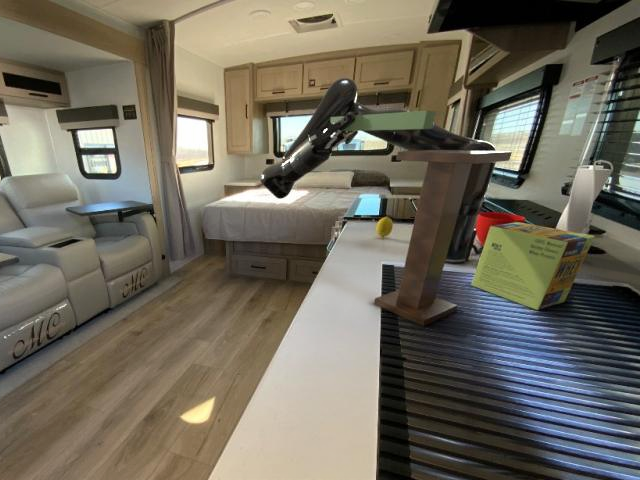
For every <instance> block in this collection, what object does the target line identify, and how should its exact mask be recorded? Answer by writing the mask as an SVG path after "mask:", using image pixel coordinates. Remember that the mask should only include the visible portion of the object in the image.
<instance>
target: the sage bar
mask: <svg viewBox="0 0 640 480" xmlns="http://www.w3.org/2000/svg"><path fill="white" fill-rule="evenodd" d="M436 113H437V111H436V110H416V111H411V112H399V113H385V114H370V115H355V116H354V117H355V121H354V122H353V123H352V124H350V125H349V126H348V127H347V128H345V129H344V130H341V131H358V132H363V131H369V130H412V129H432V128H433V123H435V119H436V115H437V114H436ZM343 117H344V116H341V117H331V123H332V124H333V123H334V122H336V121H339V120H341V119H342V118H343Z"/></svg>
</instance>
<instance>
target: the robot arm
mask: <svg viewBox="0 0 640 480" xmlns="http://www.w3.org/2000/svg"><path fill="white" fill-rule="evenodd" d="M399 112H412V111H410V110H407V109H405V108H397V107H396V108H395V107H394V108H384V109H383V108H382V109H377V108H376V109H375V108H371V107H368V106H366V105H363V104H361V103H359V102H358V86H357V84H356V81H354V80H353V79H351V78H349V77H341V78H338V79H336V80H334V82H333V83H332V84H331V85H330V86H329V87H328V88H327V90H326V92H325V94H324V95H323V98H322V100H321V101H320V103H319V104H318V106H317V108H316V109H315V111H314V113H313V114H312V115H311V117H310V119H309V121H307V123H306V125H305V127H303V129H302V130H301V132H300V133H299V135H298V136H297V137H296V139H295V140H294V141H293V142H292V144H291V145H289V148H288V149H287V150H286V151H285V153H284V154H283V156H282V157H281V161H278V162H275V163H272V164H270V165H268V166H267V167H265V168H264V169H263V171H262V172H261V174H260V177H259V180H260V183H261V185H262V186H263V187H264V188H266V189H267V190H268V191H269V192H270V193H271V194H272V195H273V196H274V197H275V198H277V199H279V200H281V199H284V198H287V196H288V195H289V194H290V193H291V191H292V190H293V188H294V185H295V182H297V181H299V180H301V179H302V178H303V177H304V176H306V175H308V174H310V173H311V172H313V171H314V170H316V169H317V168H319V167H320V166H322V164H324V163H325V162H326V161H328V160H329V159H330V157H332V156H331V155H332V152H333V150H334V149H336V148H338V147H339V146H340V145H341V144H342V143H345V144H344V145H350V143H352V141H353V140H354V138H355V137H356V136H357V135H358V134H359V131H341V130H344V129H345V128H347V127H348V126H349V125H350V124H352V123H353V122H354V121H355V117H354V116H355V115H370V114H385V113H399ZM341 116H344V117H343V118H342V119H341V120H339V121H336V122H334V123H333V124H332V123H331V117H341ZM362 132H363V133H365V134H368V135H370V136H373V137H375V138H378V139H379V140H381V141H384V142H386V143H388V144H390V145H393V146H395V147H397V148H400V149H403V150H404V151H423V150H460V151H497V149H496V147H495V146H494V145H493V144H492V143H490V142H488V141H485V140H478V139H474V138H471V137H466V136H463V135H461V134H457V133H454V132H451V131H449V130H447V129H445V128H444V127H442V126H440V125H439V124H438V123H436V122H434V123H433V128H432V129H412V130H369V131H362ZM496 164H497V162H490V163H479V164H472V166H471V170H470V173H469V177H468V181H467V184H466V188H465V191H464V195H463V199H462V202H461V206H460V209H459V213H458V217H457V220H456V224H455V228H454V231H453V235H452V238H451V242H450V246H449V249H448V253H447V256H446V260H445V263H448V264H449V263H450V264H461V263H465V262H469V259H470V256H471V252H472V249H473V252H474V253H475V254H476V255H477V254H478V255H479V254H480V253H482V251H483V248H484V245H481V246H480V247H479V248H478V247H477V245H475V244H474V243H475V240H476V238H477V235H476V234H477V230H476V222H477V219H478V216H479V214H480V213H481V209H482V205H483V203H484V200H485V197H486V194H487V192H488V190H489V187H490V183H491V180H492V176H493V173H494V170H495V167H496Z"/></svg>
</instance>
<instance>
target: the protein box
mask: <svg viewBox="0 0 640 480" xmlns="http://www.w3.org/2000/svg"><path fill="white" fill-rule="evenodd" d="M595 238H596V235H592V234H581V233H575V232H569V231H564V230H559V229H556V228H555V227H553V228H552V227H547V226H542V225H536V224H530V223H525V222H524V223H520V222H517V223H509V224H502V225H494V226H491V227H490V230H489V233H488V236H487V239H486V242H485V245H483V246H484V248H483V250H482V251H481V254H480V257H479V261H478V264H477V266H476V268H475V272H474V275H473V278H472V281H471V284H470V285H471V286H472V287H474V288H477V289H480V290H482V291H485V292H488V293H491V294H493V295H496V296H498V297H500V298H503V299H506V300H508V301H511V302H514V303H516V304H519V305H522V306H525V307H528V308H530V309H533V310H536V311H540V310H543V309H546V308H550V307H552V306H555V305H556V306H557V305H559V304H562V303H564V302H566V299H567V297H568V295H569V293H570V291H571V289H572V286H573V284H574V282H575V280H576V278H577V275H578V273H579V271H580V269H581V267H582V265H583V263H584V260H585V258H586V256H587V254H588V252H589V250H590V248H591V246H592V243H593V241H594V240H595Z"/></svg>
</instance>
